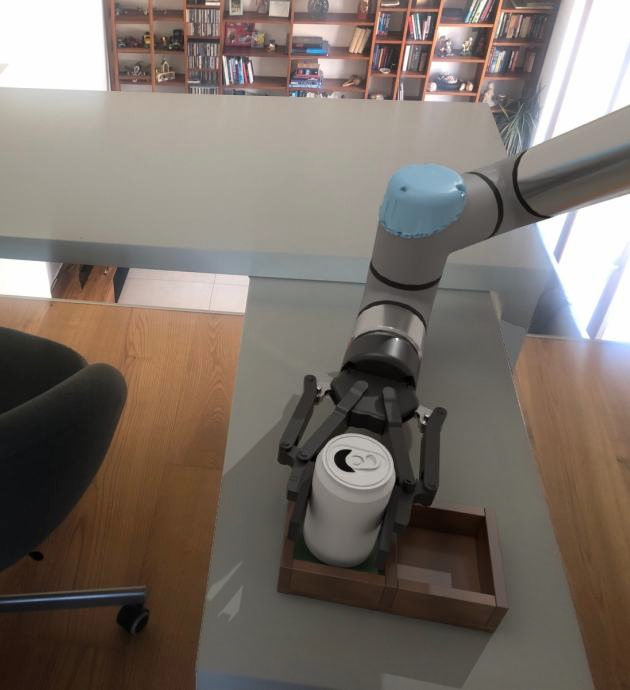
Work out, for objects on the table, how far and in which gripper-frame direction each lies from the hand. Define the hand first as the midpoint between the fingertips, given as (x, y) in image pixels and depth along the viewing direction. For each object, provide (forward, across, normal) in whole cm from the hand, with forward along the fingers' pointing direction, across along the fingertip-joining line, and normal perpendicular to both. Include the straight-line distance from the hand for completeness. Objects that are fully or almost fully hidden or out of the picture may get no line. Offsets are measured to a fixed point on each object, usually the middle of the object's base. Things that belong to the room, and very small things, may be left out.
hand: (336, 545), depth 56 cm
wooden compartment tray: (-6, -4, -9) cm, 12 cm away
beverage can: (-5, 0, -7) cm, 9 cm away
